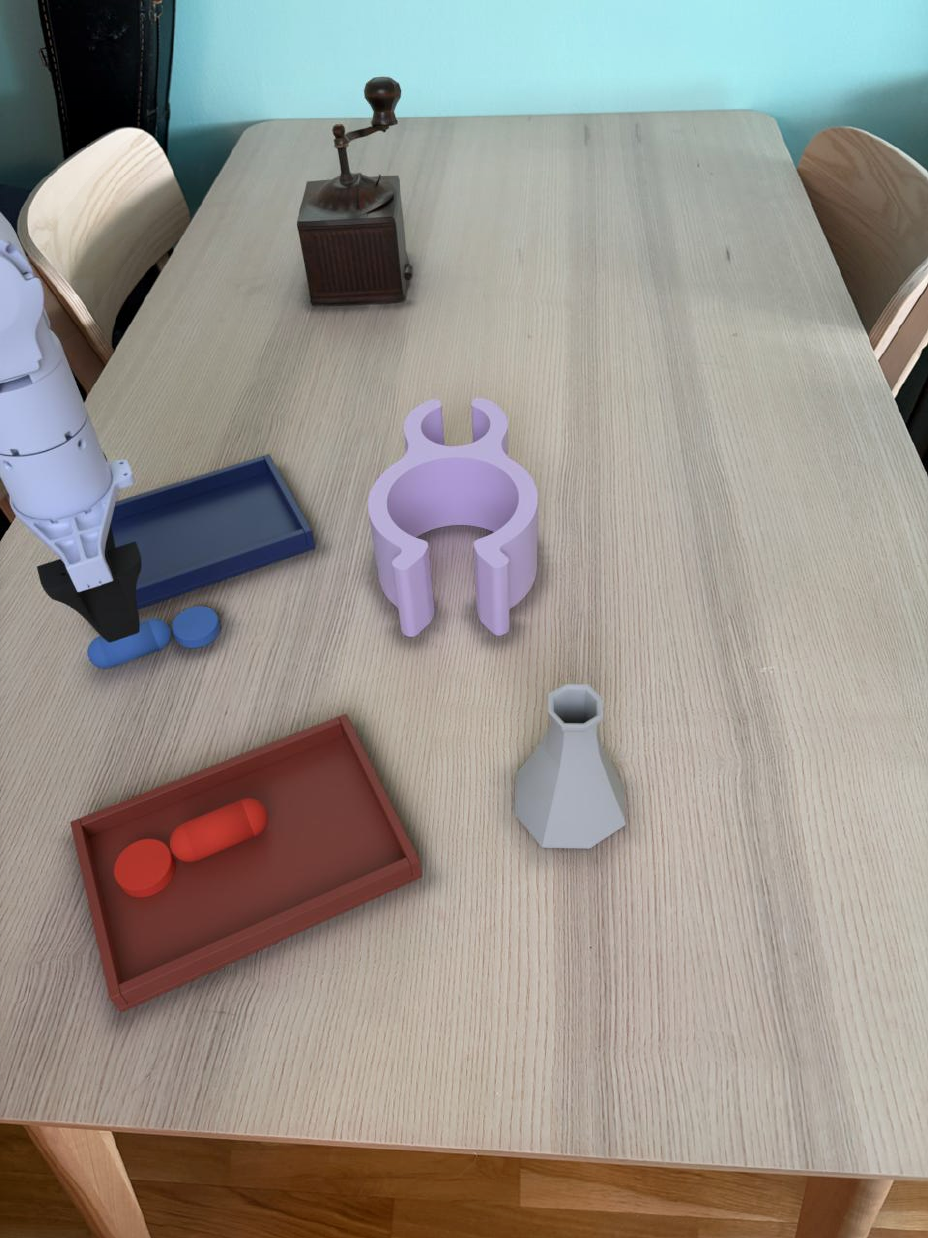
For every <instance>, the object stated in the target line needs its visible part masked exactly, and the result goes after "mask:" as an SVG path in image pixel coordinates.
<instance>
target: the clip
mask: <svg viewBox="0 0 928 1238" xmlns="http://www.w3.org/2000/svg"><path fill="white" fill-rule="evenodd" d="M470 407H471V409H470V410H471V426H472V427H471V428H472V442H471V443H468V444H467V443H466V444H462V445H446V444H445V435H444V433H445V432H444V420H443V418H444V417H443V405H442V402H441V401H440V400H439V399H437V398H431V399H428V400H426V401H424V402H422V403H420V404H418V405H417V406H416V407H414V408H413V409H412V410H411V411H409V413H408V415H407V416H406V418H405V419H404V422H403V439H404V447H405V454H404V455H403V456H402V458H400V460H398V461H397V462H395V463H393V464H391V466H389V467H388V468H387V469H386V470H384V471H383V473H381V474H380V476H379V477H378V478H377V479H376V480H375V482H374V483H373V484H372V487H371V489H370V492H369V493H368V494H369V495H368V499H367V511H368V517H369V518H368V519H369V525H370V530H371V531H370V532H371V537H372V543H373V544H372V545H373V552H374V557H375V564H376V569H377V576H378V581H379V585H380V588H381V590H382V592H383V594H384V595H385V597H386V598H387V599H388V601H390V602H391V604H392V605H393V606H395V608H397V610H398V616H399V625H400V631H401V634H403V635H404V636H405V637H408V638H413V637H414V638H415V637H416V636H418V635H419V634H420V633H421V632H422V631H423V630H424V629H426V628H427V626H428V625H430V624H431V622H432V620H433V618H434V616H435V613H436V609H435V601H434V600H435V599H434V590H433V580H432V570H431V560H430V559H431V558H430V548H429V543H428V541H426V540H424V539H421V538H418V537H420V536H422V535H423V534H425V533H428V532H429V531H432V530H436V529H439V528H445V527H449V526H450V527H451V526H471V527H477V528H481V529H485V530H488V531H490V532H492V533H491V534H488V535H486V536H483V537H481V538H478V539H476V540H474V542H473V558H474V559H473V560H474V577H475V579H474V580H475V581H474V582H475V595H476V596H475V598H476V599H475V600H476V614H477V616H478V619H479V621H480V623H482V625H483V626H485V627H486V629H488V630H489V631H490V632H491V634H493V635H495V636H497V637H500V636H503V635H505V634H507V633H509V632H510V629H511V626H510V625H511V620H510V618H511V617H510V615H511V614H510V613H511V612H510V610H511V609H512V608H514V607H515V606H517V605H518V604H519V603H520V602H521V601H522V600H523V599H525V597H526V596H527V595H528V593H529V592H530V591H531V588H532V587H533V585H534V583H535V579H536V577H537V572H538V528H539V527H538V522H539V521H538V519H539V516H538V515H539V514H538V513H539V494H538V489H537V486H536V483H535V481H534V479H533V477H532V476H531V475H530V473H529V472H528V471H527V470H526V469H525V468H524V467H523V466H522V465H520V464H519V463H518V462H517V461H515V460H514V459H512V458H510V457H509V422H508V418H507V415H506V413H505V412H504V410H503V409H502V408H501V407H500V406H498V405H497V404H496V403H494V402H492V401H491V400H489V399H486V398H484V397H475V398H474V399H473V400H471V403H470Z"/></svg>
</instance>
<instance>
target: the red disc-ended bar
mask: <svg viewBox="0 0 928 1238" xmlns="http://www.w3.org/2000/svg"><path fill="white" fill-rule="evenodd" d="M267 821H268V814H267V810H266V808H265V806H264V805H263V804H262V803H261V802H260V801H258V800H256V799H252V798H246V799H242V800H239V801H237V802H234V803H232V804H229V805H227V806H224V807H222V808H219V809H217V810H215V811H212V812H210V813H207V814H205V815H202V816H200V817H197V818H195V819H192V820H190V821H187V822H185V823H183V824H181V825H179V826H178V827H177V828H176V829H175V830H174V832H173V833H172V835H171V839H170V847H171V850H172V853H173V854H174V855H175V857H177V858H178V859H180V860H181V861H185V862H194V861H198V860H200V859H202V858H205V857H207V856H209V855H212V854H214V853H217V852H219V851H221V850H224V849H226V848H229V847H231V846H233V845H236V844H238V843H241V842H243V841H245V840H248V839H250V838H252V837H255V836H257V835H259V834H260V833H261V832H262V831H263V830H264V828H265V827H266V824H267ZM172 853H171V851H170V850H169V848H168V847H167V845H166V844H164V843H163V842H161V841H159V840H156V839H143V840H139V841H136V842H134V843H132V844H131V845H129V846H128V847H126V848H125V849H124V850H123V851H122V852H121V853H120V855H119V856H118V858H117V860H116V862H115V866H114V876H115V879H116V881H117V882H118V884H119V885H120V887H121V889H122V890H123V891H124V892H125V893H127V894H128V895H130V896H133V897H148V896H151V895H154V894H156V893H158V892H159V891H161V890H162V889H163V888H165V887H166V886H167V885H168V883H169V882H170V881H171V879H172V877H173V875H174V872H175V860H174V857H173V855H172Z"/></svg>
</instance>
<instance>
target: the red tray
mask: <svg viewBox="0 0 928 1238" xmlns="http://www.w3.org/2000/svg"><path fill="white" fill-rule="evenodd" d="M352 723H353V722H352V721H351V719H350V717H349V715H348V714H347V713H342V714H340V715H338V716H336V717H333V718H330V719H328V720H326V721H325V720H324V721H323V722H320V723H318V724H316V725H312V726H310V727H307V728H306V729H305V728H304V729H303V730H300V731H297V732H295V733H292V734H290V735H287V736H284V737H282V738H280V739H277V740H275V741H272V742H269V743H267V744H265V745H262V746H259V747H257V748H254V749H252V750H249V751H247V752H244V753H242V754H239V755H236V756H234V757H231V758H229V759H226V760H224V761H222V762H221V761H220V762H218V763H216V764H214V765H210V766H209V767H206V768H203V769H200V770H198V771H196V772H193V773H191V774H188V775H186V776H183V777H180V778H178V779H176V780H173V781H171V782H168V783H165V784H163V785H160V786H158V787H155V788H153V789H150V790H147V791H145V792H143V793H140V794H137V795H134V796H132V797H129V798H128V799H127V798H126V799H125V800H122V801H120V802H117V803H114V804H112V805H110V806H109V805H108V806H107V807H105V808H102V809H100V810H97V811H94V812H92V813H90V814H87V815H84V816H81V817H80V818H77V819H74V820H72V821H70V828H71V832H72V837H73V841H74V846H75V850H76V854H77V855H76V856H77V858H78V864H79V867H80V872H81V877H82V881H83V886H84V890H85V895H86V899H87V903H88V908H89V913H90V918H91V922H92V926H93V927H92V928H93V931H94V935H95V939H96V944H97V950H98V953H99V957H100V963H101V966H102V970H103V975H104V980H105V984H106V988H107V994H108V997H109V1000H110V1001H111V1003H112V1004H113V1005H114V1006H115V1007H116V1008H117V1010H118V1011H119V1013H124V1012H126V1011H128V1010H131V1009H133V1008H135V1007H137V1006H140V1005H142V1004H144V1003H146V1002H148V1001H151V1000H153V999H155V998H157V997H159V996H162V995H164V994H166V993H168V992H171V991H173V990H175V989H177V988H179V987H182V986H184V985H186V984H188V983H191V982H192V981H195V980H197V979H199V978H201V977H204V976H206V975H208V974H210V973H213V972H214V971H215V972H216V971H217V970H219V969H222V968H224V967H226V966H228V965H231V964H233V963H235V962H238V961H240V960H241V959H243V958H246V957H248V956H251V955H253V954H255V953H257V952H259V951H262V950H263V949H266V948H269V947H270V946H273V945H275V944H278V943H279V942H281V941H284V940H286V939H289V938H290V937H293V936H294V935H297V934H300V933H302V932H304V931H306V930H308V929H310V928H313V927H314V926H317V925H319V924H322V923H324V922H326V921H328V920H331V919H332V918H334V917H337V916H339V915H341V914H343V913H346V912H348V911H351V910H352V909H354V908H355V909H356V908H357V907H360V906H361V905H363V904H366V903H368V902H370V901H372V900H374V899H377V898H379V897H382V896H383V895H386V894H388V893H390V892H393V891H395V890H397V889H399V888H402V887H403V886H405V885H408V884H410V883H412V882H415V881H416V880H419V879H421V878H423V873H422V867H421V866H422V865H421V861H420V859H419V856H418V854H417V852H416V850H415V849H414V845H413V844H412V842H411V840H410V838H409V836H408V834H407V832H406V830H405V828H404V826H403V824H402V822H401V820H400V818H399V816H398V814H397V812H396V810H395V809H394V806H393V804H392V802H391V799H390V798H389V795H388V794H387V792H386V790H385V788H384V785H383V784H382V782H381V780H380V778H379V776H378V773H377V771H376V770H375V767H374V766H373V764H372V762H371V760H370V757H369V756H368V754H367V752H366V749H365V748H364V745H363V743H362V742H361V739H360V737H359V735H358V733H357V732H356V729H355V727H354V725H353V724H352ZM246 798H252V799H256V800H258V801H260V802H261V803H262V804H263V805H264V806H265V808H266V810H267V814H268V821H267V824H266V827H265V828H264V830H263V831H262V832H261V833H260V834H259V835H257V836H255V837H252V838H250V839H248V840H245V841H243V842H241V843H238V844H236V845H233V846H231V847H229V848H226V849H224V850H221V851H219V852H217V853H214V854H212V855H209V856H207V857H205V858H202V859H200V860H198V861H194V862H185V861H181V860H180V859H178V858H177V857H175V855H174V854H173V853H172V850H171V847H170V839H171V835H172V833H173V832H174V830H175V829H176V828H177V827H178V826H179V825H181V824H183V823H185V822H187V821H190V820H192V819H195V818H197V817H200V816H202V815H205V814H207V813H210V812H212V811H215V810H217V809H219V808H222V807H224V806H227V805H229V804H232V803H234V802H237V801H239V800H242V799H246ZM143 839H156V840H159V841H161V842H163V843H164V844H166V845H167V847H168V848H169V850H170V851H171V853H172V855H173V857H174V860H175V872H174V875H173V877H172V879H171V881H170V882H169V883H168V885H167V886H166V887H165V888H163V889H162V890H161V891H159V892H158V893H156V894H154V895H151V896H148V897H133V896H130V895H128V894H127V893H125V892H124V891H123V890H122V889H121V887H120V885H119V884H118V882H117V881H116V879H115V876H114V866H115V862H116V860H117V858H118V856H119V855H120V853H121V852H122V851H123V850H124V849H125V848H126V847H128V846H129V845H131V844H132V843H134V842H136V841H139V840H143Z"/></svg>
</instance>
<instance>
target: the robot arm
mask: <svg viewBox="0 0 928 1238" xmlns="http://www.w3.org/2000/svg"><path fill="white" fill-rule="evenodd" d="M77 384H78V383H77V381H76V380H75V376H74V373H73V372H72V369H71V366H70V364H69V361H68V359H67V356H66V354H65V351H64V348H63V346H62V344H61V340H60V339H59V338H58V336H57V334H56V333H55V332H54V331H53V330H52V329H51V321H50V318H49V316H48V314H47V311H46V309H45V293H44V287H43V283H42V281H41V279H40V278H39V277H36V274H35V273H34V270H33V268H32V266H31V264H30V260H29V259H28V257H27V254H26V253H25V250H24V248H23V246H22V244H21V242H20V239H19V237H18V235H17V233H16V231H15V229H14V228H13V226H12V224H11V223H10V221H9V220H8V219H7V218H6V217H5V216H4V214H3V213H2V212H1V211H0V480H1V482H2V484H3V485H4V487H5V490H6V491H7V494H8V496H9V505H10V507H11V509H12V511H13V514H14V515H15V517H16V518H17V520H18V521H19V523H21V524H22V525H23V526H24V527H25V528H26V529H28V531H30V532H31V533H32V534H33V535H34V536H35V537H36V538H37V539H38V540H39V541H40V542H41V543H43V544H44V545H45V546H46V547H47V548H48V549H49V550H50V551H51V552H52V553H54V555H55V556H56V557H58V558H59V559H55V560H53V561H49V562H46V563H43V564H40V565H37V566H36V570H37V574H38V578H39V582H40V585H41V587H42V589H43V591H44V592H45V593H46V595H47V596H48V597H49V598H50V599H51V600H53V601H55V602H58V603H62V604H64V605H66V606H67V607H69V608H71V609H72V610H74V611H76V612H77V613H78V614H79V615H80V616H82V617H83V619H84V620H85V621H86V622H87V623H88V624H89V625H90V626H91V627H92V628H93V630H94V631H95V632H96V633H97V634H98V635H99V636H102V637H103V638H104V639H105V640H106V641H107V642H109V643H111V642H114V641H117V640H119V639H122V638H125V637H128V636H131V635H134V634H137V633H139V631H140V622H141V621H140V612H139V609H138V607H137V600H136V585H137V580H138V577H139V574H140V572H141V566H142V559H141V555H140V552H139V549H138V546H137V543H136V541H135V542H132V543H129V544H125V545H122V546H119V547H116V548H115V542H114V537H113V532H112V528H111V520H112V515H113V511H114V507H115V503H116V501H117V499H118V495H119V492H120V491H121V490H123V489H126V488H130V487H131V486H133V485H134V484H135V483H136V478H135V475H134V473H133V470H132V467H131V464H130V462H129V461H128V460H127V459H123V458H122V459H116V460H113V461H108V458H107V456H106V453H105V452H104V451H103V448H102V445H101V443H100V440H99V439H98V436H97V433H96V431H95V428H94V426H93V423H92V421H91V417H90V415H89V413H88V409H87V407H86V405H85V402H84V399H83V397H82V394H81V391H80V390H79V387H78V385H77Z"/></svg>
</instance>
